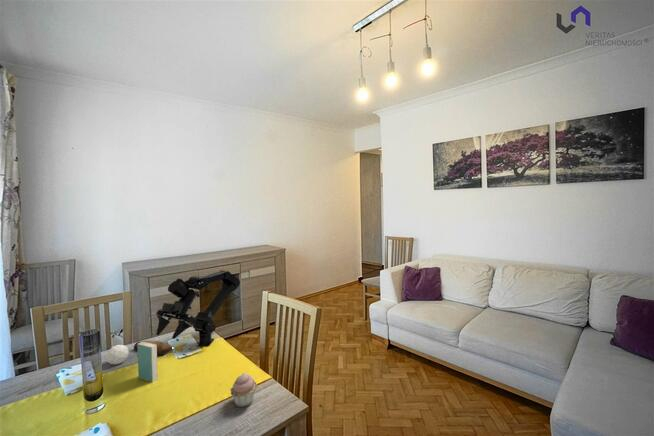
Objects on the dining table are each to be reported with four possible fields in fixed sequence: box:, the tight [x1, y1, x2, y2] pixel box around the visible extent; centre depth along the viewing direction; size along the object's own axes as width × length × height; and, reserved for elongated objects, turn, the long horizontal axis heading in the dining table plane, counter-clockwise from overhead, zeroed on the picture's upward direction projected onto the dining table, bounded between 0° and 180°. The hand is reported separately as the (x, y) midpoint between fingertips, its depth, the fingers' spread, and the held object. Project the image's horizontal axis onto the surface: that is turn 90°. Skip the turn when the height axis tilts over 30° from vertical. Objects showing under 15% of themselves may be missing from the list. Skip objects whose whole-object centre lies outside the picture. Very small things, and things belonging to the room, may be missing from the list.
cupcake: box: [229, 372, 258, 408], centre depth 98 cm, size 9×9×10 cm
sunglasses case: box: [133, 340, 173, 357], centre depth 132 cm, size 18×7×7 cm
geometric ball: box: [105, 344, 130, 365], centre depth 121 cm, size 8×8×8 cm
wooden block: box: [137, 340, 158, 383], centre depth 110 cm, size 2×8×14 cm, turn 70°
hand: (164, 336), depth 117 cm, fingers open, 9 cm apart
